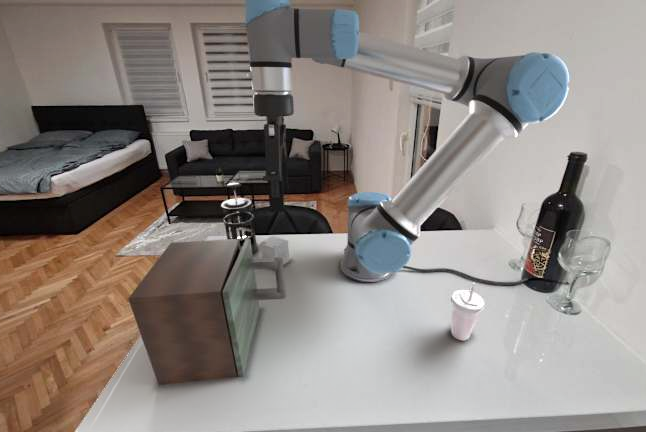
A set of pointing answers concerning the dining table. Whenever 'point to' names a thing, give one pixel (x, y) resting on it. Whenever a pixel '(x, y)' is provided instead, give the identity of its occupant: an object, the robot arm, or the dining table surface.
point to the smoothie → (465, 312)
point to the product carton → (275, 248)
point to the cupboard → (187, 312)
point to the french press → (242, 210)
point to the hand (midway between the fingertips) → (280, 199)
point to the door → (248, 299)
